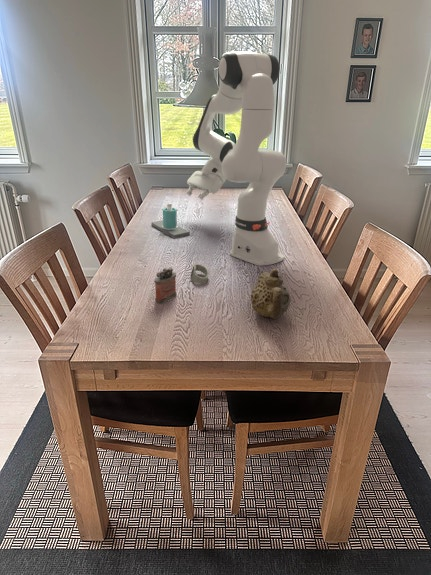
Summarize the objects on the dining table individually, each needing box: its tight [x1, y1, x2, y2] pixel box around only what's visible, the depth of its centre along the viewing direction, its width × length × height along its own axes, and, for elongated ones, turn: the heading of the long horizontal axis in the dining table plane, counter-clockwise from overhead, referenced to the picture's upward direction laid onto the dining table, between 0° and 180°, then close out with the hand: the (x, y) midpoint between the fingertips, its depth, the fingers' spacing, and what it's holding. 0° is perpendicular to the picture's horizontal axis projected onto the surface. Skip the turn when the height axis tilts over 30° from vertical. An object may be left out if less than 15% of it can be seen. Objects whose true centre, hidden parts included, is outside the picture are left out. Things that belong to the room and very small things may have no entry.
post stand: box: [150, 202, 191, 239], centre depth 183 cm, size 20×8×13 cm, turn 37°
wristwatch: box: [190, 263, 210, 285], centre depth 142 cm, size 9×6×5 cm
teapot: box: [250, 268, 292, 320], centre depth 119 cm, size 21×12×15 cm, turn 4°
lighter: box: [154, 267, 177, 304], centre depth 127 cm, size 8×3×10 cm, turn 141°
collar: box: [162, 207, 178, 229], centre depth 183 cm, size 6×6×8 cm
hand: (193, 196), depth 186 cm, fingers open, 8 cm apart
